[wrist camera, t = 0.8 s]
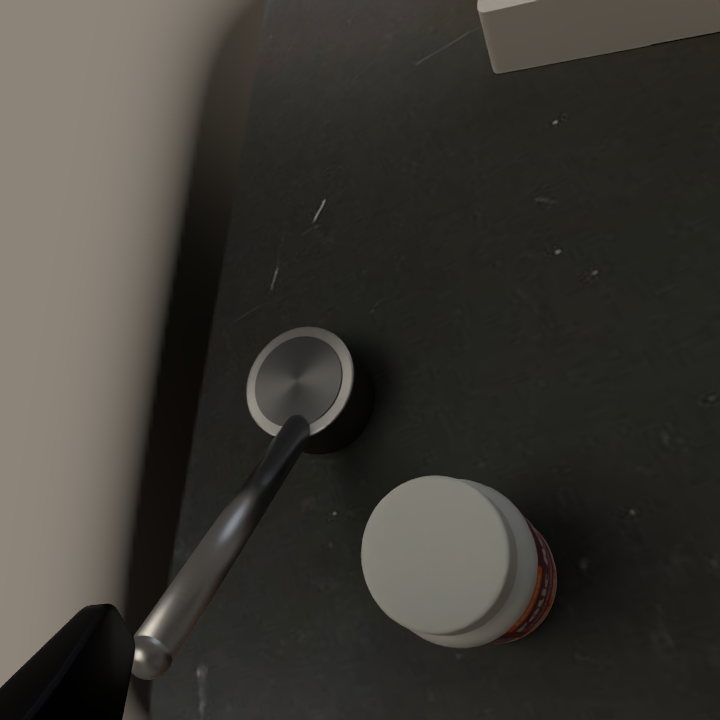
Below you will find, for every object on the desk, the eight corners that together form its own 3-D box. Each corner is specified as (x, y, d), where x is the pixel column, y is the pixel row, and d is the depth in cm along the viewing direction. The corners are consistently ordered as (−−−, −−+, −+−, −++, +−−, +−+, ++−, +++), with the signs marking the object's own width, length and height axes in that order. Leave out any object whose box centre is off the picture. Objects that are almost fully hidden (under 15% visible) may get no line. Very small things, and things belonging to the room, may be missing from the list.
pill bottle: (563, 647, 22) (531, 658, 15) (429, 639, 24) (342, 646, 17) (554, 507, 24) (521, 457, 17) (429, 509, 26) (350, 464, 19)
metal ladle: (276, 356, 31) (119, 239, 22) (374, 340, 29) (251, 205, 20) (263, 658, 26) (52, 679, 17) (380, 659, 24) (221, 683, 15)
